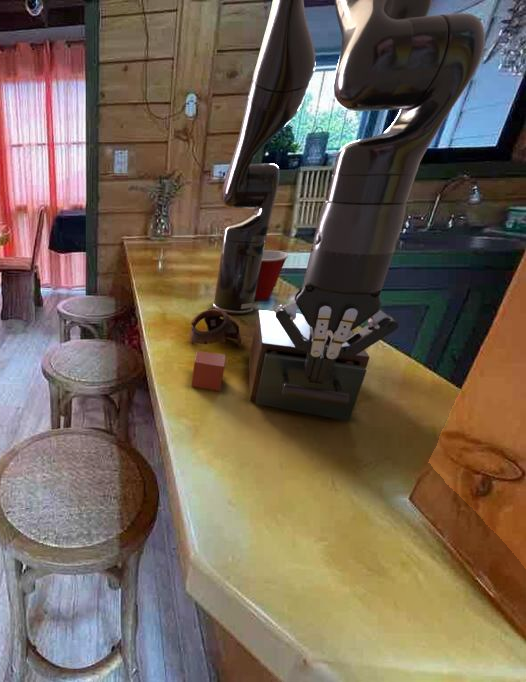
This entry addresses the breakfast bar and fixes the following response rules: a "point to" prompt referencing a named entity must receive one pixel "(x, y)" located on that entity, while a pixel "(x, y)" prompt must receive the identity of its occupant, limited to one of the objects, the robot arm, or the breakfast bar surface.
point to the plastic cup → (269, 273)
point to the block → (208, 370)
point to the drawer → (308, 386)
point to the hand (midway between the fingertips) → (314, 380)
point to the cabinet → (281, 345)
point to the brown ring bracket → (215, 327)
